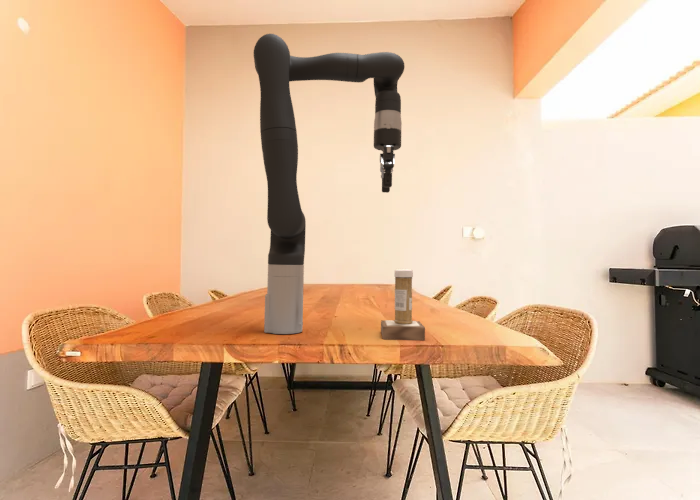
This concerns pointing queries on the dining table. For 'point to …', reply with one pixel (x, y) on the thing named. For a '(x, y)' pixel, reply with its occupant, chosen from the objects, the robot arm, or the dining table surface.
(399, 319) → the sprinkles bottle
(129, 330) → the dining table surface
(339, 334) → the dining table surface
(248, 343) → the dining table surface
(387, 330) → the walnut plinth
